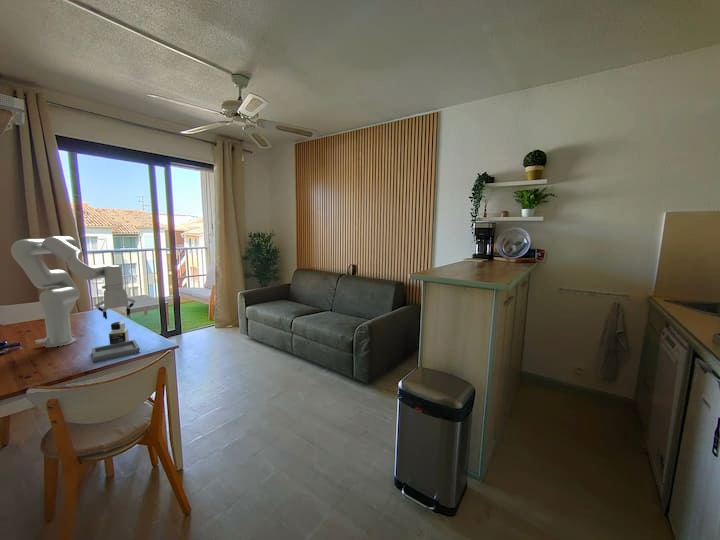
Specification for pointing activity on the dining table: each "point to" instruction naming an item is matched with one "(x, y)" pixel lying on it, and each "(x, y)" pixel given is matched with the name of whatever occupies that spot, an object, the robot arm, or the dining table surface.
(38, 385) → the dining table surface
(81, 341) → the dining table surface
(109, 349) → the grey tray
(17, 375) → the dining table surface
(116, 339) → the medicine bottle
